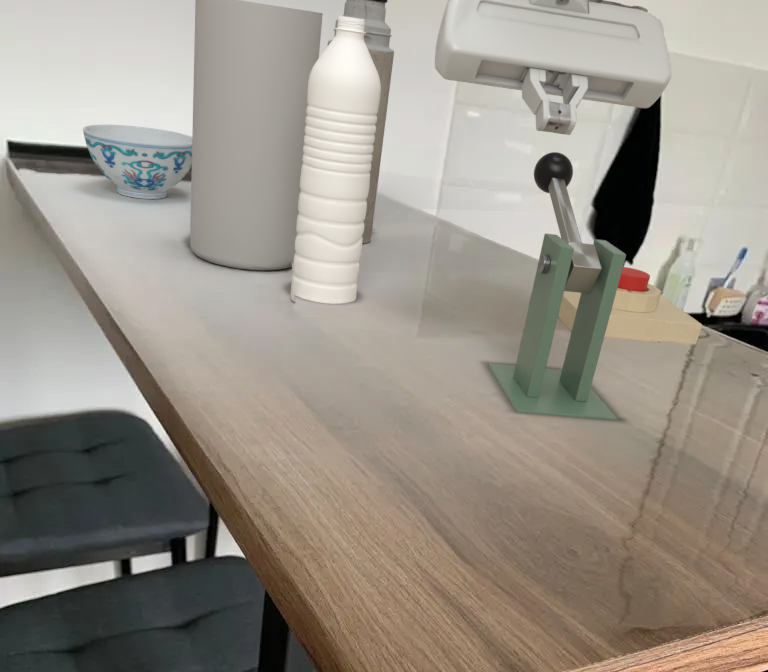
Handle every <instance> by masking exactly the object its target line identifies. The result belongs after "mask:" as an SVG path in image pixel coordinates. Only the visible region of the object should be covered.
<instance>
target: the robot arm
mask: <svg viewBox="0 0 768 672" xmlns="http://www.w3.org/2000/svg"><path fill="white" fill-rule="evenodd" d="M436 37H437V38H436V43H435V50H434V51H435V52H434V69H435V70H436V72H437V73H438V74H439V75H440V76H441V78H442V79H444V80H447V81H451V82H452V81H454V82H461V83H468V84H475V85H481V86H488V87H489V86H490V87H495V88H502V89H508V90H516V91H521V98H522V100H523V101H524V103H525V105H526V106H527V107H528V108H529V110H530V111H531V112H532V114H533V115H534V116H535V130H536V131H537V132H545V133H553V134H558V135H560V134H561V135H566V136H570V135H572V133H573V131H574V129H575V127H576V125H577V109H578V107H579V106H580V104H581V102H582V101H583V100H585V101H592V102H599V103H605V104H613V105H619V106H626V107H633V108H639V109H648V108H650V107H652V106H653V105H654V104H655V103H656V101H658V99H659V98H660V97H661V96H662V94H663V93H664V91H665V90H666V88H667V87H668V85H669V84H670V81H671V78H672V75H673V74H672V65H671V63H672V62H671V58H670V54H669V53H670V52H669V49H668V46H667V41H666V37H665V29H664V24H663V22H662V20H661V19H660V18H657V17H656V16H655V15H653V14H651V13H650V12H649V11H648V9H647V8H645V7H643V6H640V5H626V4H622V3H620V2H615V1H609V0H447V1H446V5H445V8H444V11H443V14H442V19H441V23H440V26H439V29H438V34H437V36H436ZM548 95H549V96H550V95H551V96H558V97H562V102H556V101H551V100H550V98H549V96H548Z"/></svg>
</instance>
